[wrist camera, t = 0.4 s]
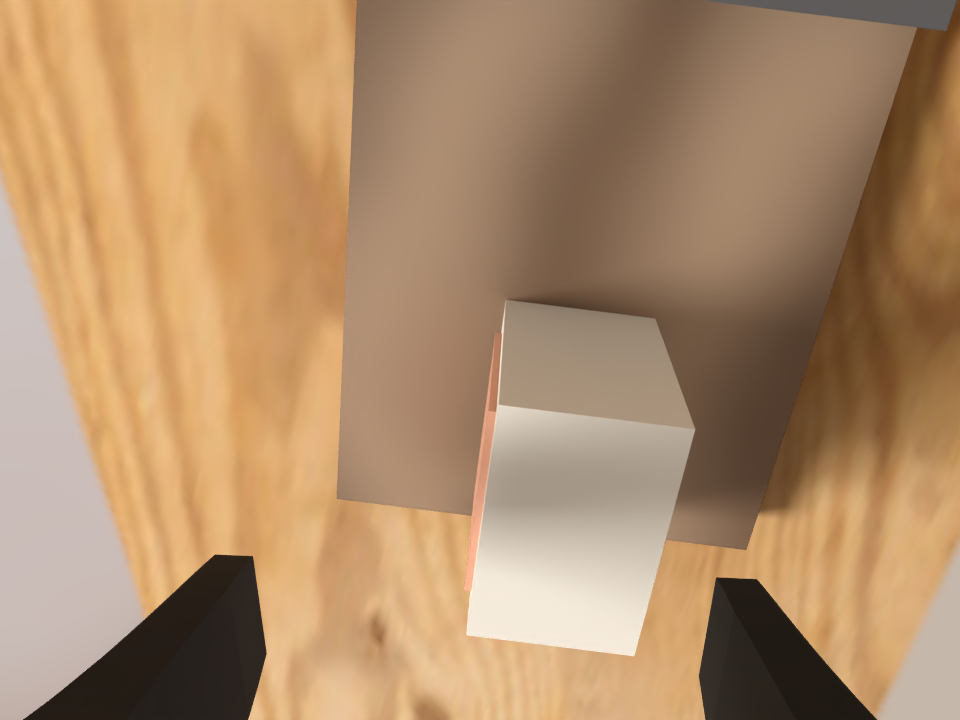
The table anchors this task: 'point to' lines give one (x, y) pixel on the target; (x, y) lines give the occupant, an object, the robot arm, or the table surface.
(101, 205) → the table surface
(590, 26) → the shelf board
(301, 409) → the table surface
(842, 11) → the rail
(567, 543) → the carton
